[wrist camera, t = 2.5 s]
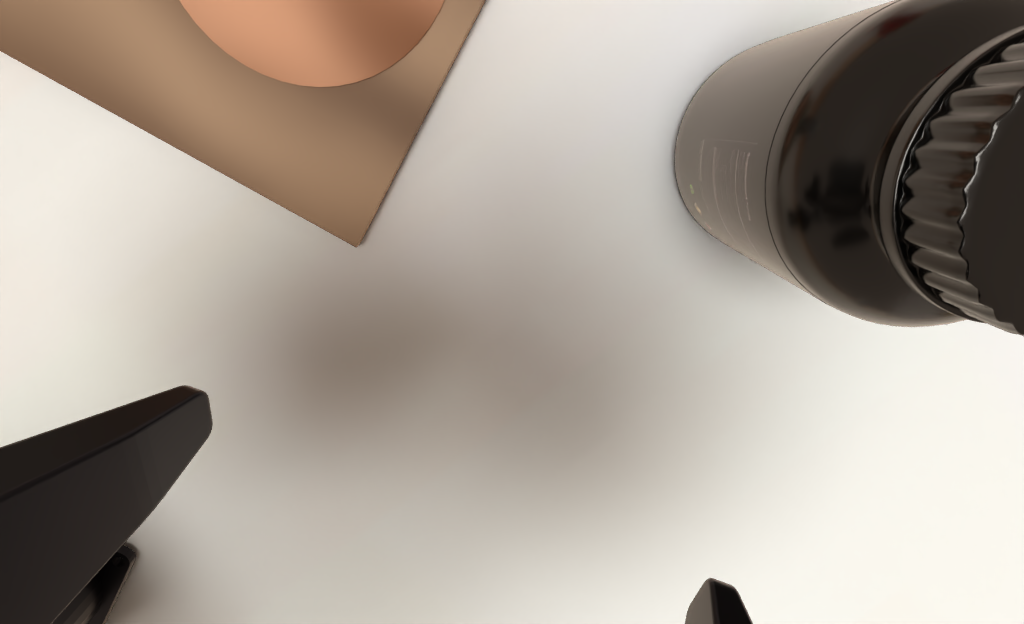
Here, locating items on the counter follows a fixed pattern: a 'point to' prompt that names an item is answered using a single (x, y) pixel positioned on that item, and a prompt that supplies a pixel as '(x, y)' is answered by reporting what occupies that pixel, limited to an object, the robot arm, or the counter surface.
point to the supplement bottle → (874, 161)
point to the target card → (260, 84)
